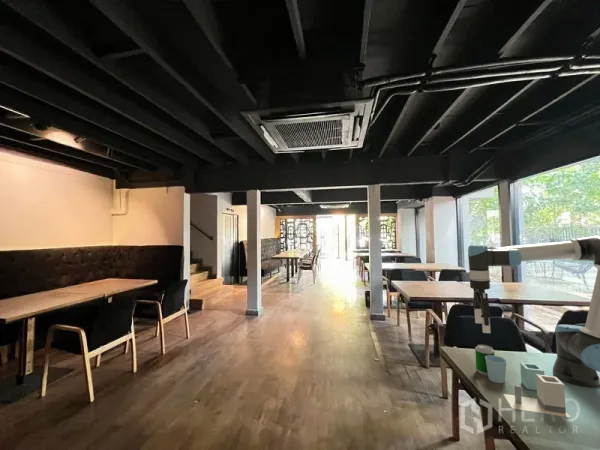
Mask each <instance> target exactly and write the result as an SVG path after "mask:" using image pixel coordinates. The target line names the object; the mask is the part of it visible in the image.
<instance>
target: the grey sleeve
mask: <svg viewBox="0 0 600 450" xmlns="http://www.w3.org/2000/svg"><path fill="white" fill-rule="evenodd" d="M536 381H537V391H536V399H537V401H538V402H539V404H540V405H541V406H542V407H543V409H544V410H545V411H552V412H559V413H565V414H566V413H567V411H566V393H565V392H566V391H565V388H566V387H565V384H564V383H563V382H562V380H561V379H559V378H557V377H556V376H555V375H545V374H544V375H538V374H536Z"/></svg>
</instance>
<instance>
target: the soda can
mask: <svg viewBox="0 0 600 450" xmlns="http://www.w3.org/2000/svg"><path fill="white" fill-rule="evenodd" d="M474 348H475V349H474V351H475V370H476V371H477V372H478V373H479V374H480V375H481V376H487V377H488V371H487V365H486V359H485V357H486V356H488V355H493V356H496V355H495V350H494V349H493V347H492V346H489V345H487V344H477V346H475V347H474Z"/></svg>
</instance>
